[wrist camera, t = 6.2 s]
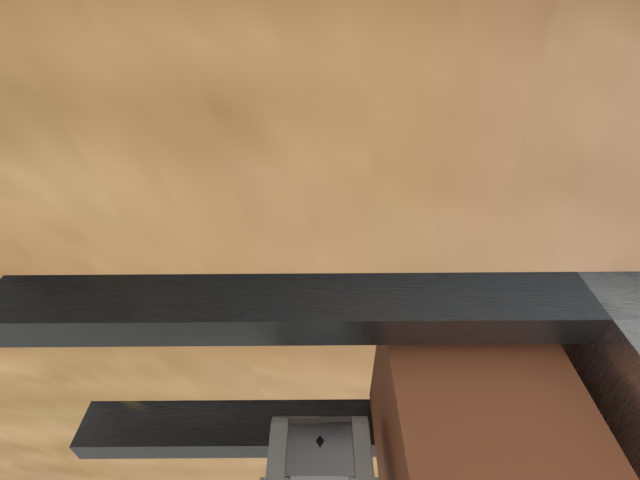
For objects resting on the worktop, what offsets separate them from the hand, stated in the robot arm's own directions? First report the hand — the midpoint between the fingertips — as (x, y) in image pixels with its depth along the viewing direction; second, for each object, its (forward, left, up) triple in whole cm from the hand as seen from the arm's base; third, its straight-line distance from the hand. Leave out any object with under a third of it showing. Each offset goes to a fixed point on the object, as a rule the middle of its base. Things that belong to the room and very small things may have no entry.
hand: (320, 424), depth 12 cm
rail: (0, 0, -3) cm, 3 cm away
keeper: (+4, 0, -3) cm, 5 cm away
